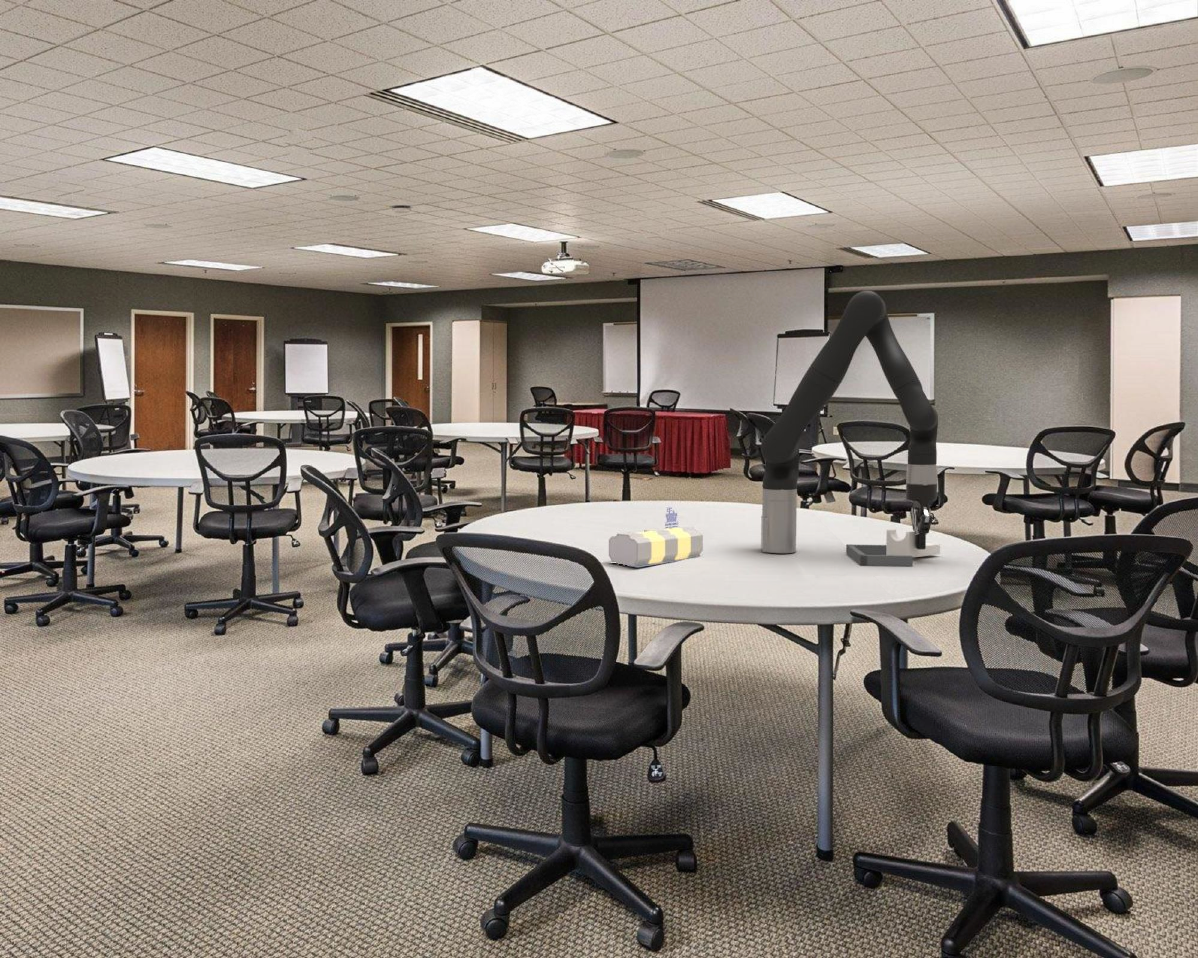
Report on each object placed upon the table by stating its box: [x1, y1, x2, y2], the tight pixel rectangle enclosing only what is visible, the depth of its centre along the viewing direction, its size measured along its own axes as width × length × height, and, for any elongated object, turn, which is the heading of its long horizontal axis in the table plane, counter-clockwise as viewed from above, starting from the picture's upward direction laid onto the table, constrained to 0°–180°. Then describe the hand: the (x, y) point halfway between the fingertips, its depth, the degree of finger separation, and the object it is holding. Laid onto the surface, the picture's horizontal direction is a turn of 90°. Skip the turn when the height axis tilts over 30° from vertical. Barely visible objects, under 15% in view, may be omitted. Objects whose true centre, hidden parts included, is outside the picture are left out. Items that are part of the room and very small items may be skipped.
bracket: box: [885, 529, 941, 558], centre depth 240 cm, size 13×7×8 cm, turn 124°
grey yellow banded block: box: [608, 506, 704, 568], centre depth 236 cm, size 25×10×13 cm, turn 134°
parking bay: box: [845, 544, 914, 567], centre depth 235 cm, size 12×21×2 cm, turn 174°
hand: (920, 548), depth 234 cm, fingers closed
